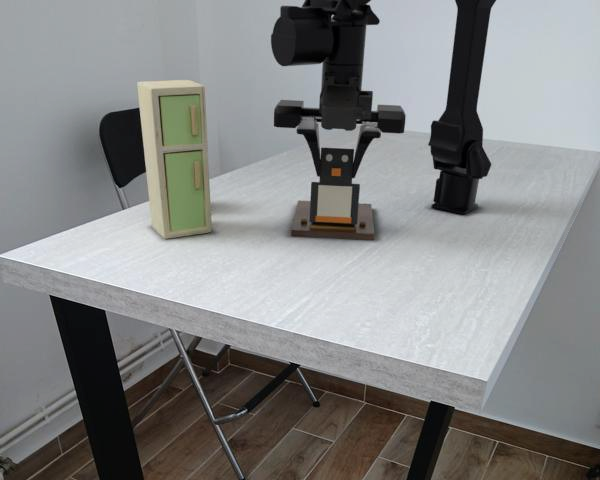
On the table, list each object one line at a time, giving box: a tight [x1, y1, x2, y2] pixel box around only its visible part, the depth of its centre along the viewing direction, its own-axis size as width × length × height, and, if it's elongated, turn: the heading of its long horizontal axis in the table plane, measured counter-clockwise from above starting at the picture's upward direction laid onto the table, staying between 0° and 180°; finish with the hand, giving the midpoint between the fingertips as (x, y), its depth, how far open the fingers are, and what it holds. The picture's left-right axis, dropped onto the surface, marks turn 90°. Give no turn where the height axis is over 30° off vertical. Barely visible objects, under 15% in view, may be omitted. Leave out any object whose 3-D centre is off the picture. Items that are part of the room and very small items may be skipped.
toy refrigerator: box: [136, 79, 213, 240], centre depth 96 cm, size 8×7×21 cm
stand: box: [290, 200, 375, 241], centre depth 107 cm, size 16×13×2 cm
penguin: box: [309, 147, 361, 224], centre depth 100 cm, size 11×8×3 cm
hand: (335, 176), depth 98 cm, fingers closed on penguin, 5 cm apart
